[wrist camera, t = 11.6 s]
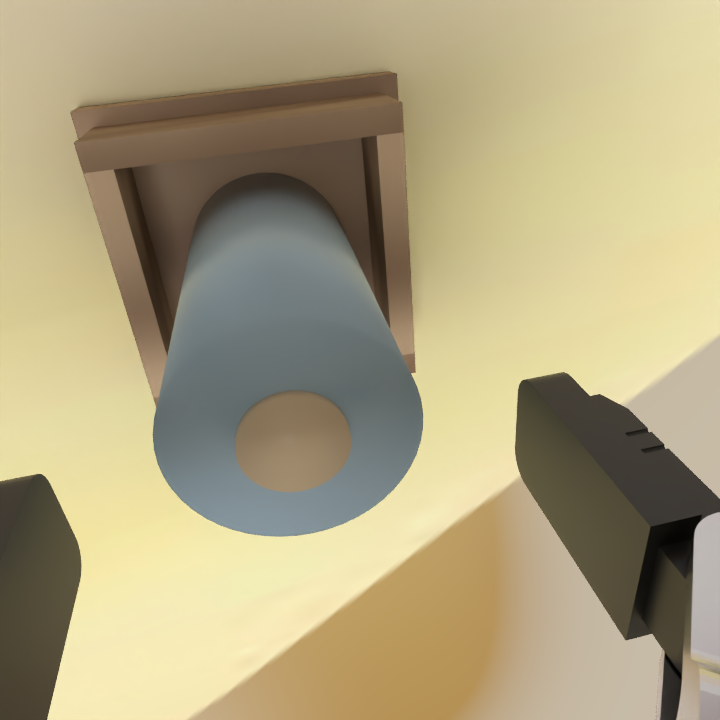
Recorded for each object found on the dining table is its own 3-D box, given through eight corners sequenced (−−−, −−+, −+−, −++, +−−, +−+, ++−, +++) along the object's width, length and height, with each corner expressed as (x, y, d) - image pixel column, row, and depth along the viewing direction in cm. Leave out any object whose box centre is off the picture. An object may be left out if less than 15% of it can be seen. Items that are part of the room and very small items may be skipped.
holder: (77, 107, 19) (47, 125, 16) (389, 71, 20) (418, 81, 17) (158, 378, 24) (148, 431, 21) (405, 337, 25) (429, 381, 22)
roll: (175, 185, 20) (113, 354, 10) (333, 162, 20) (419, 301, 11) (211, 327, 22) (190, 569, 13) (351, 303, 23) (432, 519, 13)
